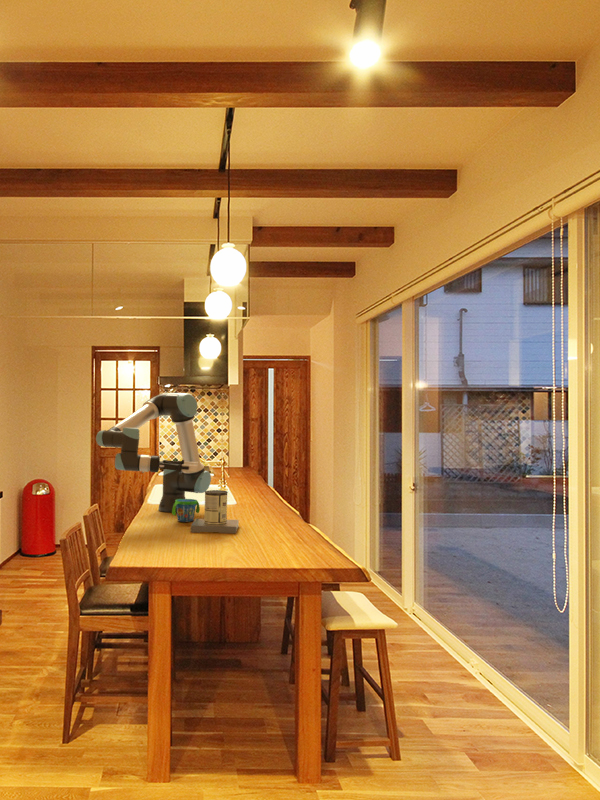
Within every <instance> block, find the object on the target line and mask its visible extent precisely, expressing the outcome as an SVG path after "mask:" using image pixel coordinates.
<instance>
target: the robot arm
mask: <svg viewBox="0 0 600 800" xmlns="http://www.w3.org/2000/svg"><path fill="white" fill-rule="evenodd" d="M198 407H199V406H198V402H197V399H196V398H195V396H193V395H192V394H191V393H186V392H163V393H160V394H157V395H155V396H152V397H151V398H150V399H148V400H147V401H145V402H143V404H142V406H141V407H140V408H139V409H137V410H136V411H134V412H132V413H131V414H129V415H128V416H127V417H125V418H123V419H122V420H121V421H119V422H118V423H116V424H115V425H113V426H112V427H111V428H109V429H107V430H106V429H105V430H99V431H98V432H97V434H96V436H95V441H96V444H97V445H98V446H99V447H105V448H116V449H117V448H119V449H120V452H118V453H116V454H115V457H114V458H115V459H114V468H115V469H116V470H119V471H125V472H126V471H128V472H129V471H131V472H141V473H143V474H144V473H146V472H150V473H158V472H159V471H160V470H163V475H162V497H161V499H160V501H159V504H158V511H160V512H164V513H172V509H173V505H174V503H175V500H177V499H187V498H186V493H193V494H205V491H208V489H209V488H210V485H211V483H212V476H211V473H210V472H209V471H208V470H206V469H205V465H204V464H203V463H201V459H200V453H199V448H198V443H197V442H198V441H197V437H196V433H195V428H194V419H195V416H196V414H197V412H198ZM161 416H162V417H163V416H169V417H170V418H171V423H173V424H175V429H176V432H177V437H178V438H177V439H178V442H179V443H178V444H179V448H180V452H181V458H182V460H169V459H168V460H167V459H164V460H163V459H162V460H161V456H159V455H149V454H139V445H140V444H139V443H140V439H141V438H140V428H141V427H142V426H144V425H145V424H146V423H148V422H150V420H154V419H157V418H159V417H161ZM176 513H177V508H176Z"/></svg>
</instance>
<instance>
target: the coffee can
mask: <svg viewBox="0 0 600 800" xmlns="http://www.w3.org/2000/svg"><path fill="white" fill-rule="evenodd" d="M227 512H228V491H226V490H221V489H220V490H219V489H216V490H212V489H211V490H206V491H205V492H204V518H203V519H204V523H206V524H225V523H227V522H226V521H227V520H228V519H227V517H228V516H227V515H228V513H227Z"/></svg>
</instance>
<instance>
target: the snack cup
mask: <svg viewBox="0 0 600 800" xmlns="http://www.w3.org/2000/svg"><path fill="white" fill-rule="evenodd" d="M176 508H177V512H176ZM200 510H201V509H200V503H199V501H198V500H197V499H193V498H186V499H177V500H175V503H174V505H173V509H172V512H171V515H172V516H174V517H175V516H177V517H176V518H177V520H178V522H181V523H189V522H194V520H195V515H196V513H197V514H199V513H200Z"/></svg>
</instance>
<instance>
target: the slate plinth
mask: <svg viewBox="0 0 600 800" xmlns="http://www.w3.org/2000/svg"><path fill="white" fill-rule="evenodd" d="M239 520H240V519H227V521H226V522H227V523H225V524H206V523H204V518H194V520H193V521H192V523H191V524H190V533H200V532H219V533H218V534H237V532H238V529H239V523H240V522H239Z"/></svg>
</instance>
